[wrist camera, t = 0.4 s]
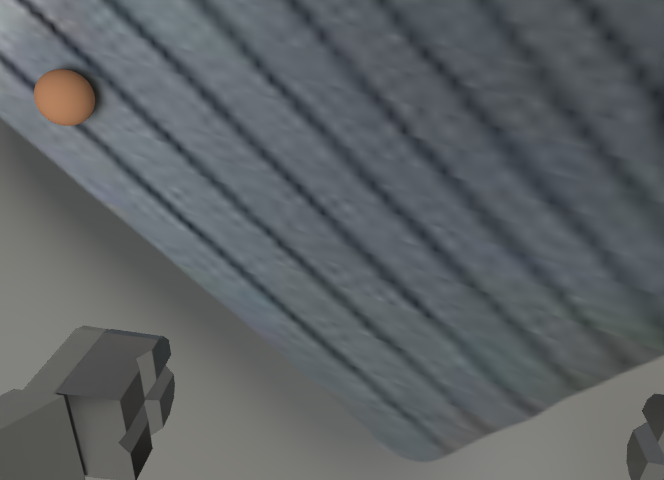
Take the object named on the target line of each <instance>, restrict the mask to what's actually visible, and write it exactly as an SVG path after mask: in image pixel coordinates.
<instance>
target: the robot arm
mask: <svg viewBox="0 0 664 480" xmlns="http://www.w3.org/2000/svg"><path fill="white" fill-rule="evenodd" d="M170 356H171V352H170V345H169V340H168V339H167V338H165V337H164V336H157V335H150V334H142V333H136V332H129V331H121V330H114V329H110V330H109V329H103V328H96V327H89V326H82V327H80V328H77V329H75V330H74V331H73V333H72V334H71V335H70V336H69V337H68V338H67V340H66V341H65V342H64V343H63V344H62V345H61V346H60V348H59V349H58V350H57V351H56V352H55V354H54V355H53V356H52V357H51V358H50V359H49V360H48V361H47V363H46V364H45V365H44V366H43V367H42V368H41V369H40V371H39V372H38V373H37V374H36V375H35V376H34V378H33V379H32V380H31V381H30V382H29V383H28V384H27V386H26V387H25V388H24V389H23V390H17V389H13V390H11V391H9V392H7V393H5V394H3V395H1V396H0V480H85V476H86V477H94V478H103V479H113V480H137V478H138V476H139V474H140V472H141V471H142V469H143V466H144V465H145V462H146V461H147V459H148V457H149V455H150V453H151V451H152V449H153V448H152V442H151V435H153V434H154V433H156V432H157V431H159V430H160V429H162V428H163V427H164V425H165V422H166V420H167V418H168V416H169V414H170V411H171V406H172V402H173V399H174V387H175V383H174V374H173V373H172V372H171V371H170V370H169V369H168V367H167V366H166V363H167V361H168V359H169V357H170ZM642 412H643V414H644V416H645V418H646V420H647V422H646V423H644V424H643V425H641V426H639V427H638V428H636V429H634V430H633V432H632V434H631V437H630V440H629V442H628V444H627V465H628V471H629V475H630V478H631V480H664V395H661V394H653V395H652V396H651V397H650V398H649V399H647V401H646V403H645V405H644V408H643V410H642Z"/></svg>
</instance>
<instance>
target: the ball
mask: <svg viewBox="0 0 664 480" xmlns="http://www.w3.org/2000/svg"><path fill="white" fill-rule="evenodd" d="M34 99H35V103H36V105H37V108H38V109H39V111H40V112H41V113H42V115H43V116H45V117H46V118H47V119H48V120H50V121H52V122H54V123H56V124H59V125H64V126H72V125H77V124H80V123H82V122H84V121H85V120H86V119H87V118H88V117H89V116H90V115H91V114H92V112H93V109H94V106H95V95H94V91H93V89H92V87H91V85H90V84H89V83H88V81H87V80H86V79H85V78H84V77H82V76H81V75H79V74H78V73H76V72H73V71H70V70H66V69H57V70H52V71H50V72H47V73H46V74H44V75H43V76H42V77H41V78H40V79H39V80H38V82H37V84H36V86H35V90H34Z"/></svg>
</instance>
